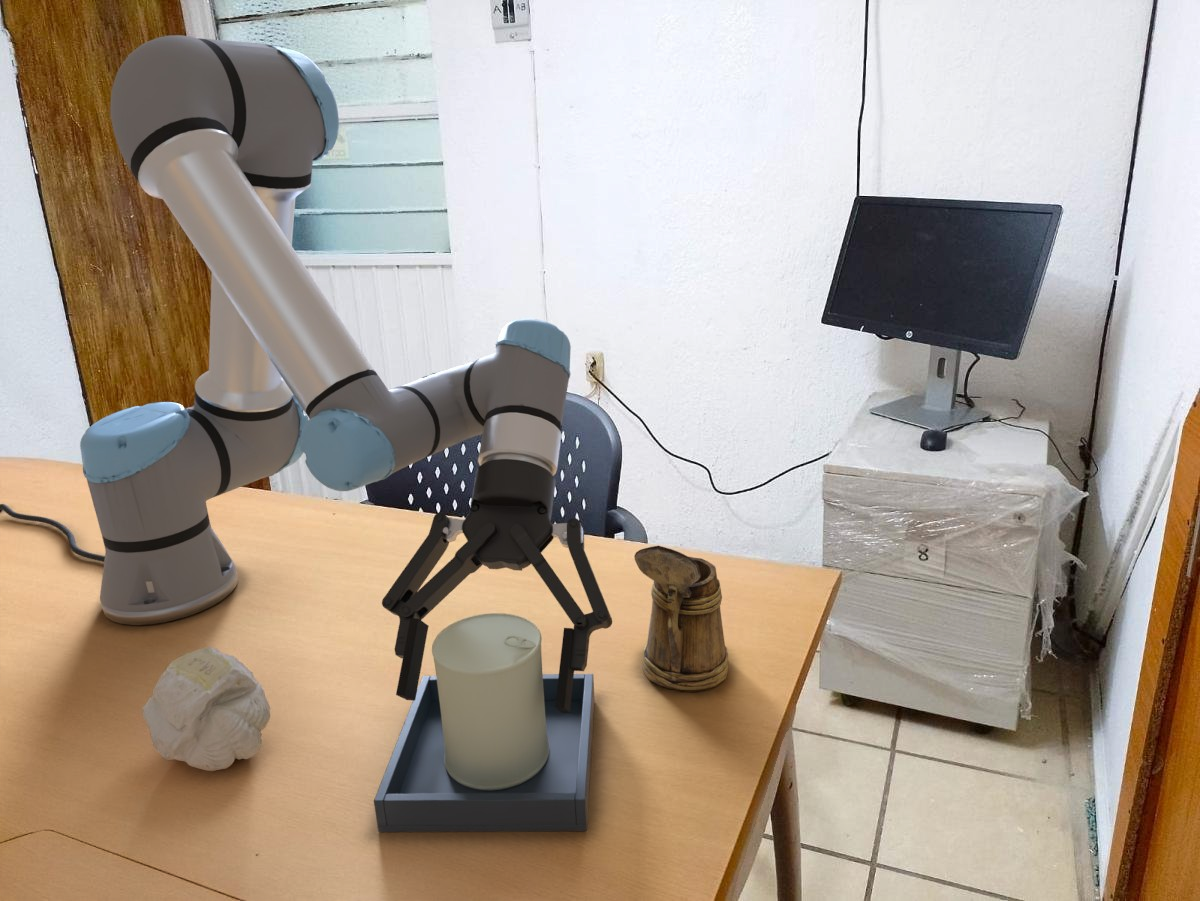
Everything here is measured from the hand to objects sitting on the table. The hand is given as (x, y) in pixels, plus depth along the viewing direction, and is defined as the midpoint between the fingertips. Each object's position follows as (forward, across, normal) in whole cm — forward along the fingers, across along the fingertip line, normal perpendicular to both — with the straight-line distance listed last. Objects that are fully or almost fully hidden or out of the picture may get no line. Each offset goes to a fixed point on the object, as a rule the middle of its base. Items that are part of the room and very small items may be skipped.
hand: (482, 704), depth 69 cm
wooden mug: (-6, -15, -16) cm, 23 cm away
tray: (+4, 0, -6) cm, 7 cm away
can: (+4, 0, -6) cm, 7 cm away
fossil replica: (+5, +26, -6) cm, 27 cm away
